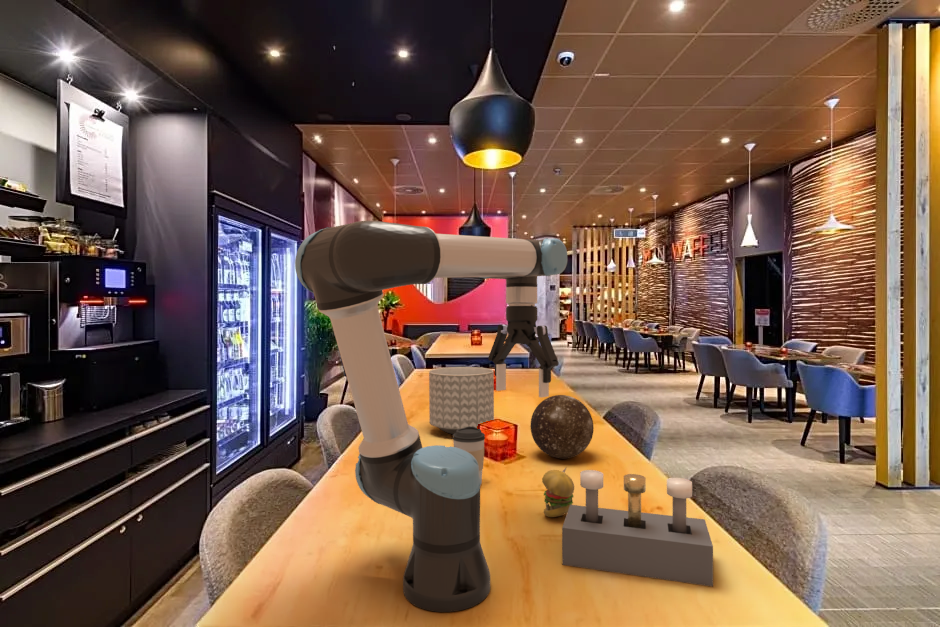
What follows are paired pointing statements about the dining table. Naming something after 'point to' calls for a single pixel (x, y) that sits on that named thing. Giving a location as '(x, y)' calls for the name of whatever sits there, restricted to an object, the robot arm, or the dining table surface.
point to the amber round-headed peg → (634, 498)
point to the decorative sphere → (562, 426)
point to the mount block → (638, 546)
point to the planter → (460, 397)
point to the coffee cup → (471, 444)
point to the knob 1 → (591, 492)
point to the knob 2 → (679, 501)
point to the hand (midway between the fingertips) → (521, 393)
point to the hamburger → (557, 492)
